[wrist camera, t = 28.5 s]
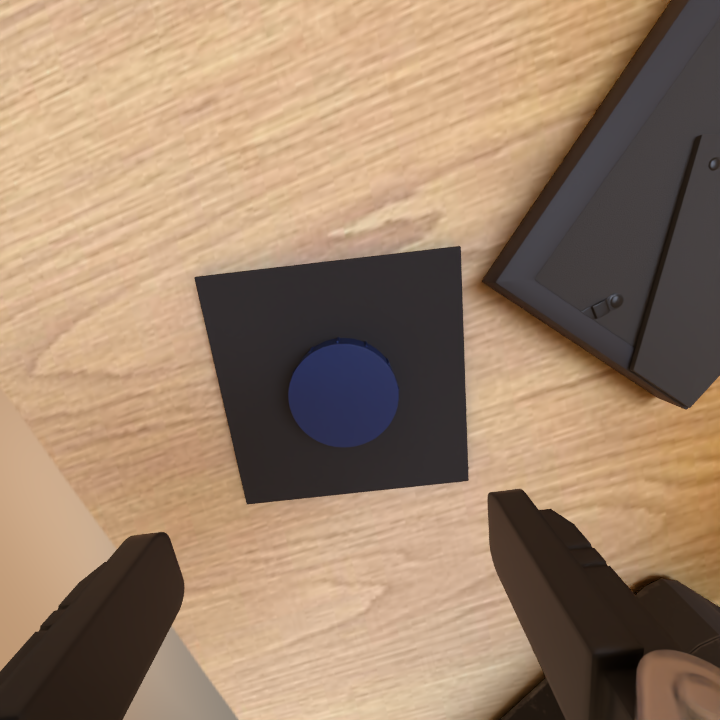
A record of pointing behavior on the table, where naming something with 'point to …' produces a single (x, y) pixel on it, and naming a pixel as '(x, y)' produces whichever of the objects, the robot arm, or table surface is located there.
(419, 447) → the mat
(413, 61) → the table surface
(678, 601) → the cash box
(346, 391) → the lid
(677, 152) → the picture frame
